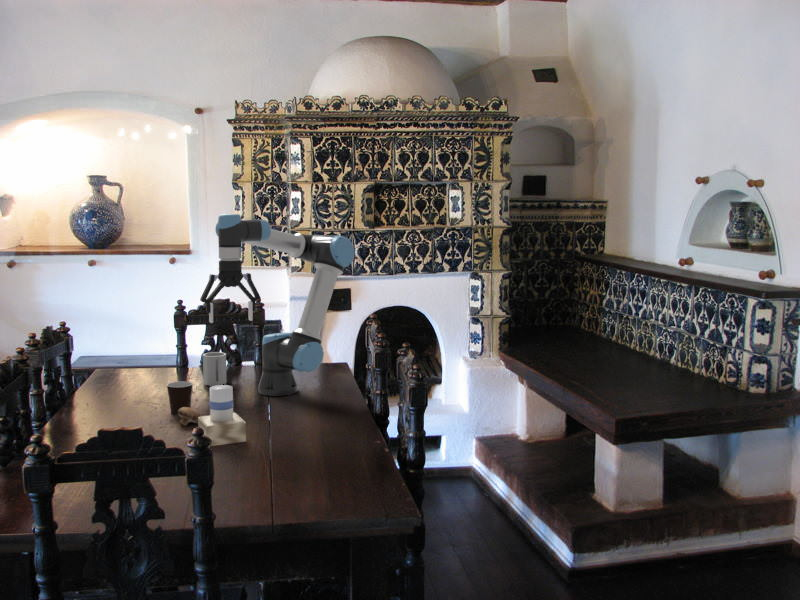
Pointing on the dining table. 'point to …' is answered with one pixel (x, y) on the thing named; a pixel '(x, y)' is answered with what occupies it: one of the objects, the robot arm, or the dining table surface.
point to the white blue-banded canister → (221, 403)
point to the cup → (214, 368)
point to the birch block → (224, 430)
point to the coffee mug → (179, 395)
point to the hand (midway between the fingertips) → (231, 321)
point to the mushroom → (188, 415)
